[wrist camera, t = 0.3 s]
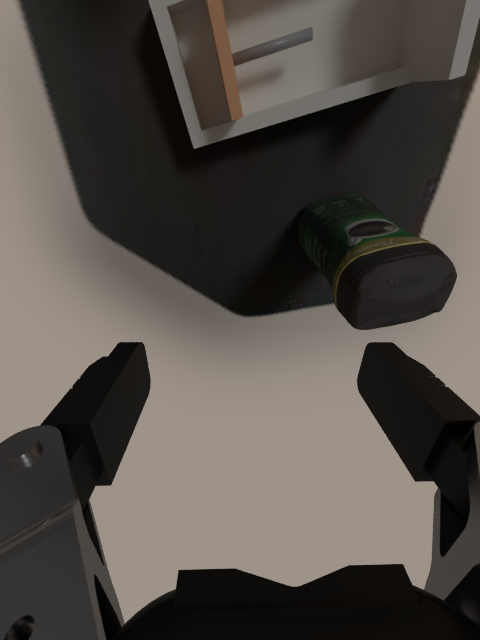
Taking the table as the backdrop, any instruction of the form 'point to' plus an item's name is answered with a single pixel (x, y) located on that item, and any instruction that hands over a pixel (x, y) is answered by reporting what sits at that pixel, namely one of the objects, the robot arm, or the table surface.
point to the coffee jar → (374, 263)
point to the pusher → (242, 53)
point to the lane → (308, 55)
